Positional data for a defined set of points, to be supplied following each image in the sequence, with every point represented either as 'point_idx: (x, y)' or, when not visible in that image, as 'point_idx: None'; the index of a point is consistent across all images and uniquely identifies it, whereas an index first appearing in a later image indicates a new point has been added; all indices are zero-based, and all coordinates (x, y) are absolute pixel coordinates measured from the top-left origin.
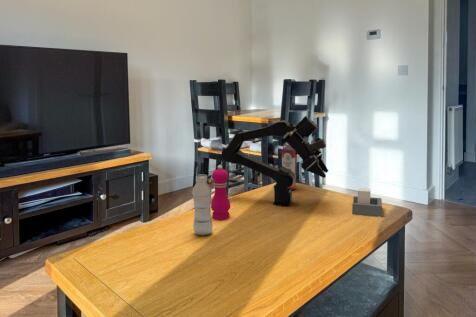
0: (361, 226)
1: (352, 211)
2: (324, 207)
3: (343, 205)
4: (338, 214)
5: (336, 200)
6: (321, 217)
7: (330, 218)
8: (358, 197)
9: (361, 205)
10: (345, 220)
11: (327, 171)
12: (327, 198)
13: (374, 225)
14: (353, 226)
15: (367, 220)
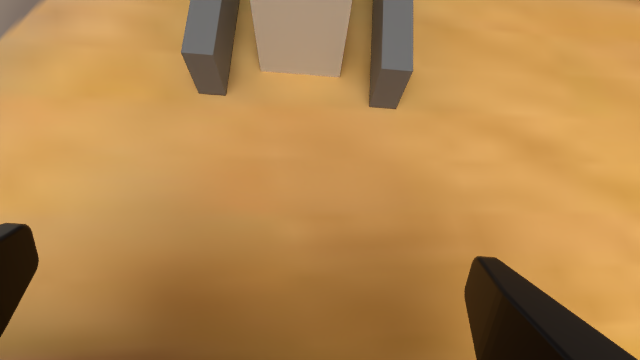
0: (604, 69)
1: (400, 97)
2: (285, 302)
3: (206, 158)
4: (428, 194)
5: (74, 209)
6: None
7: (531, 248)
8: (349, 5)
9: (412, 17)
10: (535, 152)
11: (28, 243)
12: None
13: (558, 5)
14: (623, 110)
15: (487, 31)
